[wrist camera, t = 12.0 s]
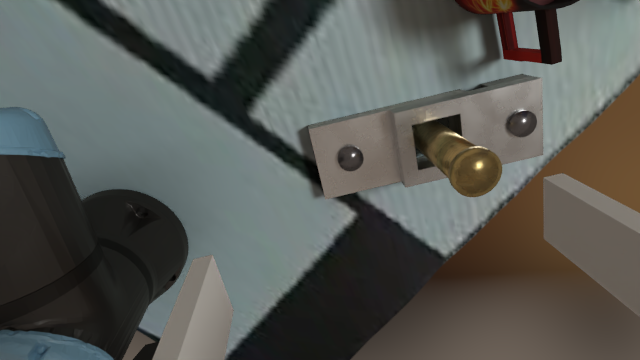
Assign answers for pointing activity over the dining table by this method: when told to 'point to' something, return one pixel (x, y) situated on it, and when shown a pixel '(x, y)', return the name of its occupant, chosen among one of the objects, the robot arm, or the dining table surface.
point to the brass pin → (458, 158)
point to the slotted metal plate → (396, 122)
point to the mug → (503, 5)
